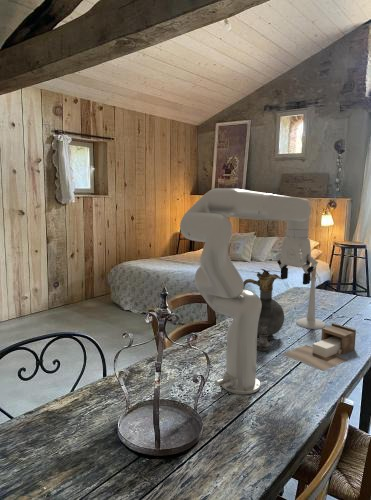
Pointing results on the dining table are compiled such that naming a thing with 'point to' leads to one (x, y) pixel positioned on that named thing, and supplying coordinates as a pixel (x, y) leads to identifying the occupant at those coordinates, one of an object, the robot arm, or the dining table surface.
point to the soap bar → (327, 346)
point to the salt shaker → (263, 339)
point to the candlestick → (311, 309)
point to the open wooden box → (325, 363)
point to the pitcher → (268, 304)
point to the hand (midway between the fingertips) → (294, 281)
